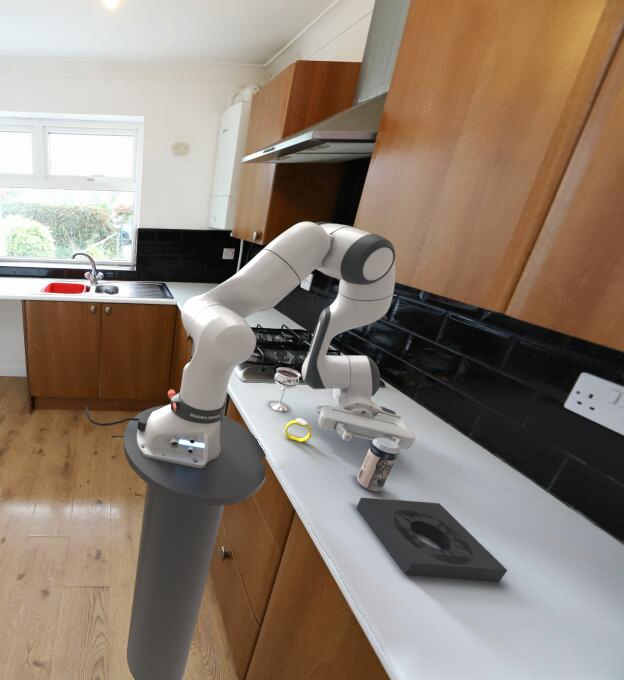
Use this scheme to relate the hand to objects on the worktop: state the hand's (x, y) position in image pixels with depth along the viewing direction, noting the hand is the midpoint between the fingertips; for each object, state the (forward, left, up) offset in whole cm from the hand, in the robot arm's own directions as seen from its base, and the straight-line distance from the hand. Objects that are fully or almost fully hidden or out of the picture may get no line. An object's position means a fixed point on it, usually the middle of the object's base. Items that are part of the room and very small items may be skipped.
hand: (370, 444), depth 83 cm
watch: (-12, +9, -7) cm, 16 cm away
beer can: (-2, -6, -7) cm, 10 cm away
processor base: (-1, -20, -7) cm, 22 cm away
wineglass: (-10, +25, -7) cm, 27 cm away
